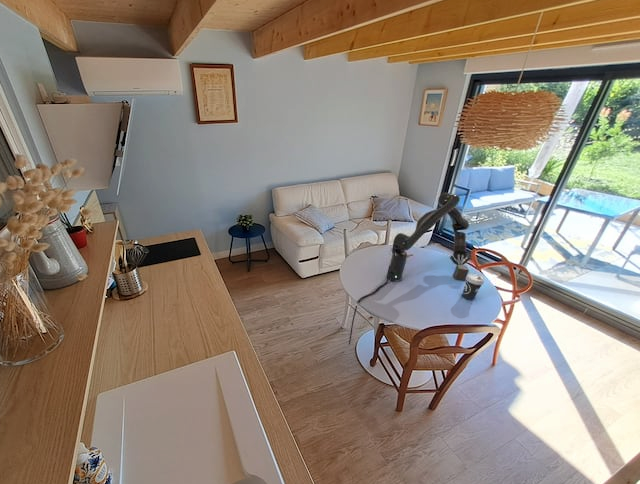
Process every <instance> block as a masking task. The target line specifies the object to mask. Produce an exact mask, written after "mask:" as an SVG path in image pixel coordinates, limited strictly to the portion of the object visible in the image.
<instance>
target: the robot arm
mask: <svg viewBox="0 0 640 484" xmlns="http://www.w3.org/2000/svg"><path fill="white" fill-rule="evenodd" d="M437 199H438V200H437V201H438V205H439V206H440V207H439V208H436V209H433V210H429V211H428V212H425V213H424V214H423V215H421V216H420V218H419V219H417V221H416V224H415V230H414V232H412V234H411V235H407V234H404V233H401V232H399V233H397V234H395V237H394V238H393V242H392V247H391V248H392V249H391V257H390V258H391V259H390V263H389V265H388V269H387V272H386V273H387V274H386V278H387V279H386V281H385V282H384V283H383V284H382V285H380V286H378V287H377V288H376V289H375V290H374V291H373V292H370V293H368V294H366V295H363V296H362V297H360V298H358V300H357V303H358V304H359V303H360V301H361V300H363V299H364V298H366V297H369V296H372V295H374V294H375V293H377V292H378V290H379V289H381V288H382V287H384V286H386V285H387V283H388V281H389V280H390V281H391V282H400V281H402V279H403V275H404V270H405V266H406V262H407V259H408V258H407V255H408V253H407V252H406V251H409V250H411V248H412V247H414V245H415V244H416V243H417V242H418V241H419V240H420V239H421V238H422V237H423V236H424V235H425V234H426V233H427V232H428V231H429V230H430V229H431V228H433V227H434V226H435V225H436V224H437V223H438V222H439V221H440V220H441V219H443V217H445V216H446V215H447V216H448V217H449V218H450V220H451V222H452V223H451V229H452V231H453V236H454V237H453V238H454V239H453V240H454V241H453V253H452V255H450V256H449V260H450V261H451V262H452V263H453V264H454V265H457V264H458V265H466V263H467V262H469V261H470V260H471V258H470V257H468V256H467V241H466V240H467V238H466V237H467V233H465V232H463V231H466V230H468V229H469V228H470V223H469V221H468V220H467V219H466V218H465V217H463V215H462V212H460V210H459V209H458V208H457V207H458V205H459V204H460V202H461V197H460V196H459V195H457V194H454V193H451V192H443V193H441V194H440V195H439V196H438V198H437ZM357 309H358V305H355V308H354V311H353V315H352V320H351V327H350V333H349V340H348V345H351V340H352V333H353V327H354V322H355V316H356V312H357Z"/></svg>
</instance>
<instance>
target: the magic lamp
mask: <svg viewBox="0 0 640 484" xmlns="http://www.w3.org/2000/svg"><path fill="white" fill-rule="evenodd" d="M392 248H393V247H390V250H389V251H388V254H389V255H391V256H392V253H390V252H391V250H392ZM412 256H413V257H414V254H407V259H408V258H410V257H412Z"/></svg>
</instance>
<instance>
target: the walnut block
mask: <svg viewBox="0 0 640 484" xmlns="http://www.w3.org/2000/svg"><path fill="white" fill-rule="evenodd" d="M455 265H456V264H455ZM469 271H470V269H469V267H468V265H466V264H464V265H458V264H457V265H456V266H455V268H454V272H453V275H452V276H453V278H454V280H455V281H462V282H463V281H464V282H466V277H467V276H468V275H469Z"/></svg>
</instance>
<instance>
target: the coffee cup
mask: <svg viewBox="0 0 640 484" xmlns="http://www.w3.org/2000/svg"><path fill="white" fill-rule="evenodd" d="M484 283H485V281H484V278H483V277H482V276H480V275H479V274H475V273H468V274H467V277H466V279H465V281H464V286H463V290H462V294H461V297H462V298H463V299H465V300H468V301H473V300H474V299H475V298H476V296H477V295H478V292H479V291H480V289H481V287H482V285H484Z"/></svg>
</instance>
